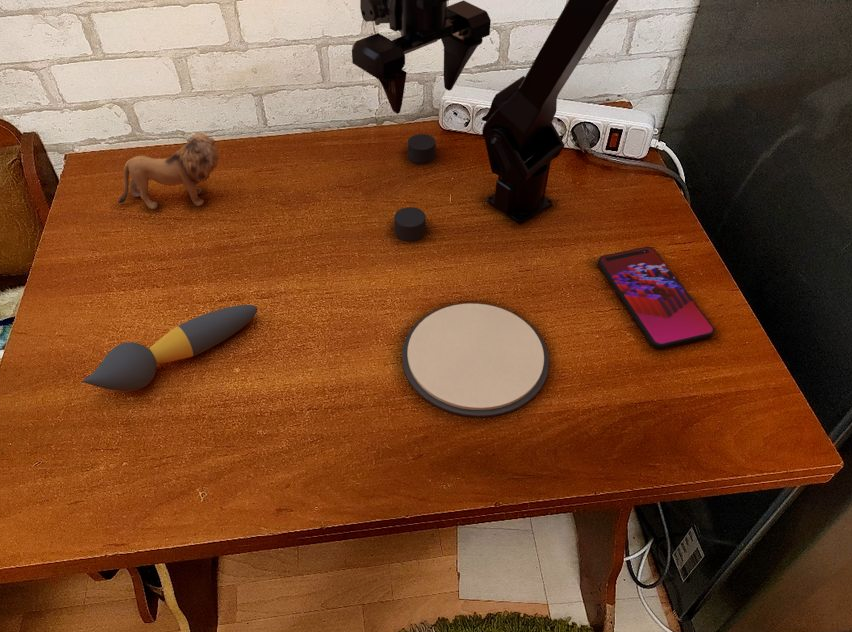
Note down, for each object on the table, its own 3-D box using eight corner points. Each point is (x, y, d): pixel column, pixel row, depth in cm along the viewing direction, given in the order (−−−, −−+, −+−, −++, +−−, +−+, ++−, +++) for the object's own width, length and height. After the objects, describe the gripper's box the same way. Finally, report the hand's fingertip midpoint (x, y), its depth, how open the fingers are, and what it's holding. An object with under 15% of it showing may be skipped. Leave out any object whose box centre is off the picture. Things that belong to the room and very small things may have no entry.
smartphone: (655, 346, 74) (595, 256, 84) (653, 352, 75) (593, 261, 84) (719, 332, 76) (652, 244, 85) (716, 337, 76) (650, 250, 86)
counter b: (412, 217, 91) (412, 202, 89) (431, 232, 89) (432, 217, 87) (388, 230, 89) (387, 215, 87) (407, 245, 87) (407, 231, 85)
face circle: (478, 285, 82) (479, 279, 82) (579, 365, 74) (581, 359, 73) (372, 349, 76) (372, 344, 75) (470, 444, 68) (471, 439, 67)
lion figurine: (227, 180, 96) (213, 123, 90) (229, 203, 93) (214, 145, 86) (119, 195, 95) (97, 137, 88) (118, 219, 91) (94, 161, 84)
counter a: (423, 145, 102) (423, 130, 100) (440, 157, 100) (441, 142, 98) (402, 155, 100) (402, 140, 98) (419, 167, 98) (419, 152, 96)
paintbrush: (240, 298, 81) (231, 267, 77) (265, 320, 79) (257, 290, 75) (86, 392, 73) (67, 362, 69) (109, 420, 70) (91, 391, 66)
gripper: (438, -60, 89) (435, 57, 101) (320, -21, 82) (332, 100, 93) (498, -34, 83) (488, 86, 95) (377, 10, 76) (382, 134, 88)
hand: (422, 100), depth 93 cm, fingers open, 9 cm apart
